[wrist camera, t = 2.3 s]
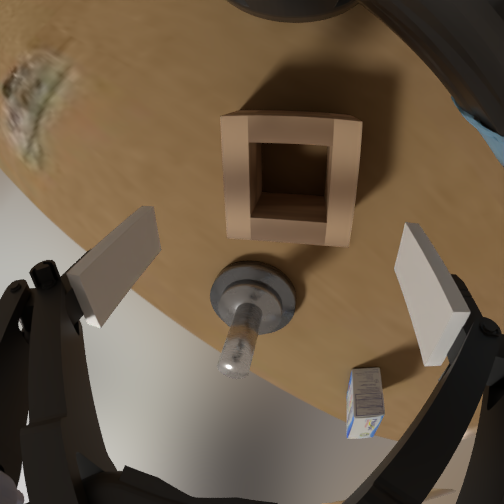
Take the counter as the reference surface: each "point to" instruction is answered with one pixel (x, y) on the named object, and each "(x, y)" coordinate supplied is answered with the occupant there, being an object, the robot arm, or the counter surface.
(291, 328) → the counter surface
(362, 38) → the counter surface
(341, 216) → the light wood square frame
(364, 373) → the medicine box
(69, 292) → the robot arm
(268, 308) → the post stand
